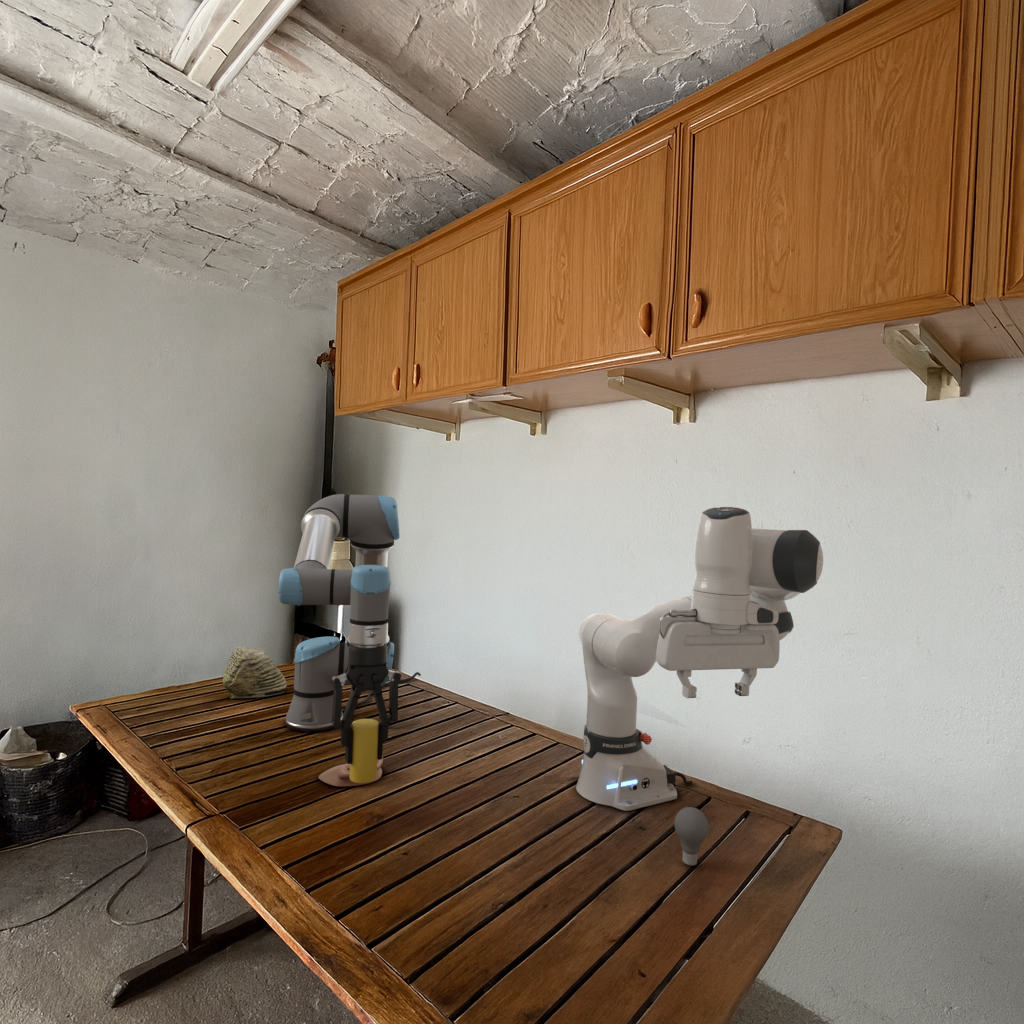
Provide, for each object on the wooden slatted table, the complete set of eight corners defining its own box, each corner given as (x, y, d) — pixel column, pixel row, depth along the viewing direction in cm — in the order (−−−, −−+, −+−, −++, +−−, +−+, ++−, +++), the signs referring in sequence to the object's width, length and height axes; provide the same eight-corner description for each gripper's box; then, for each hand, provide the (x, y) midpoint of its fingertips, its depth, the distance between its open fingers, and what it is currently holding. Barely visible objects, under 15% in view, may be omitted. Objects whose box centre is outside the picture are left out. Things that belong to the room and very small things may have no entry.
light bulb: (667, 854, 117) (670, 800, 117) (699, 854, 118) (702, 801, 117) (679, 873, 111) (681, 817, 111) (712, 873, 112) (715, 817, 111)
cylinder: (344, 780, 125) (346, 725, 124) (358, 769, 130) (361, 716, 130) (367, 785, 123) (369, 729, 123) (381, 774, 128) (383, 721, 128)
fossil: (218, 695, 195) (220, 647, 195) (278, 685, 208) (279, 640, 207) (228, 703, 189) (230, 653, 188) (289, 692, 201) (290, 645, 201)
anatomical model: (312, 765, 139) (336, 745, 151) (311, 783, 139) (336, 762, 151) (368, 773, 137) (389, 752, 148) (367, 791, 137) (388, 769, 148)
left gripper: (324, 651, 118) (319, 773, 119) (418, 644, 127) (413, 759, 127) (317, 642, 125) (313, 758, 126) (407, 636, 133) (402, 745, 134)
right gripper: (670, 613, 95) (666, 705, 95) (787, 613, 100) (783, 700, 100) (651, 605, 101) (646, 692, 101) (762, 606, 106) (758, 688, 106)
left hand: (363, 758), depth 126 cm, fingers closed on cylinder, 5 cm apart
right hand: (715, 696), depth 101 cm, fingers open, 8 cm apart
